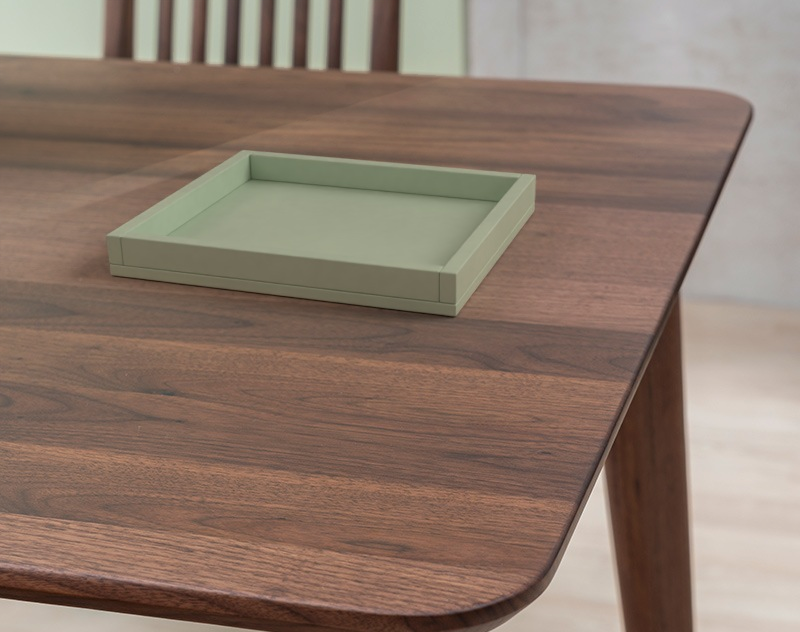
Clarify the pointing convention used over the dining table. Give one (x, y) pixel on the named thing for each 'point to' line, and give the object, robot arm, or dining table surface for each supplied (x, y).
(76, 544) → the dining table surface
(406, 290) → the tray
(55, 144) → the dining table surface
